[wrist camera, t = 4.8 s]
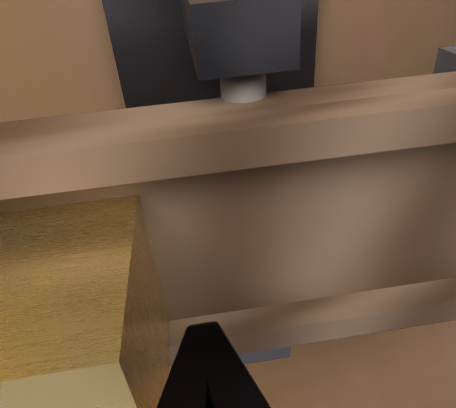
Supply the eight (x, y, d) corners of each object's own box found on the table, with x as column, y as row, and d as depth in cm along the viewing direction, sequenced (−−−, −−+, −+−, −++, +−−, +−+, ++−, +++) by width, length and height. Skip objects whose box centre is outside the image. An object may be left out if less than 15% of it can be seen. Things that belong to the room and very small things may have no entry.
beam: (666, 8, 13) (872, 35, 9) (558, 220, 18) (664, 294, 14) (-292, 108, 11) (-535, 196, 7) (-115, 317, 16) (-203, 435, 12)
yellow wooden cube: (137, 194, 10) (119, 361, 6) (168, 319, 13) (170, 491, 9) (-60, 221, 10) (-218, 417, 6) (15, 343, 13) (-55, 534, 9)
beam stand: (312, -54, 15) (432, -51, 8) (299, 234, 23) (355, 354, 16) (98, -35, 14) (42, -17, 8) (161, 254, 22) (161, 387, 15)
